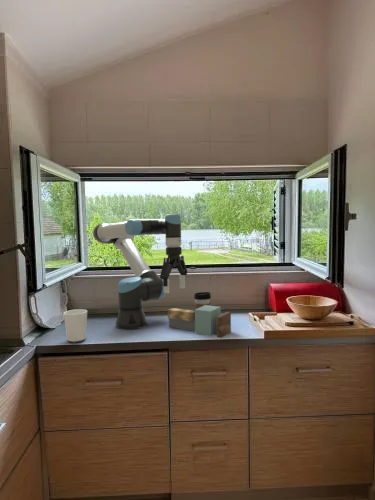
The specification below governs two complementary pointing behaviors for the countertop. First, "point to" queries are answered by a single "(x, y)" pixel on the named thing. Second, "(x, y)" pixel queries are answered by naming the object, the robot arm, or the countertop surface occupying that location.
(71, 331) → the cup
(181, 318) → the oak peg
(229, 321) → the wall
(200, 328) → the bore block
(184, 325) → the rail
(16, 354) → the countertop surface
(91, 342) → the countertop surface
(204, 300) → the coffee cup
